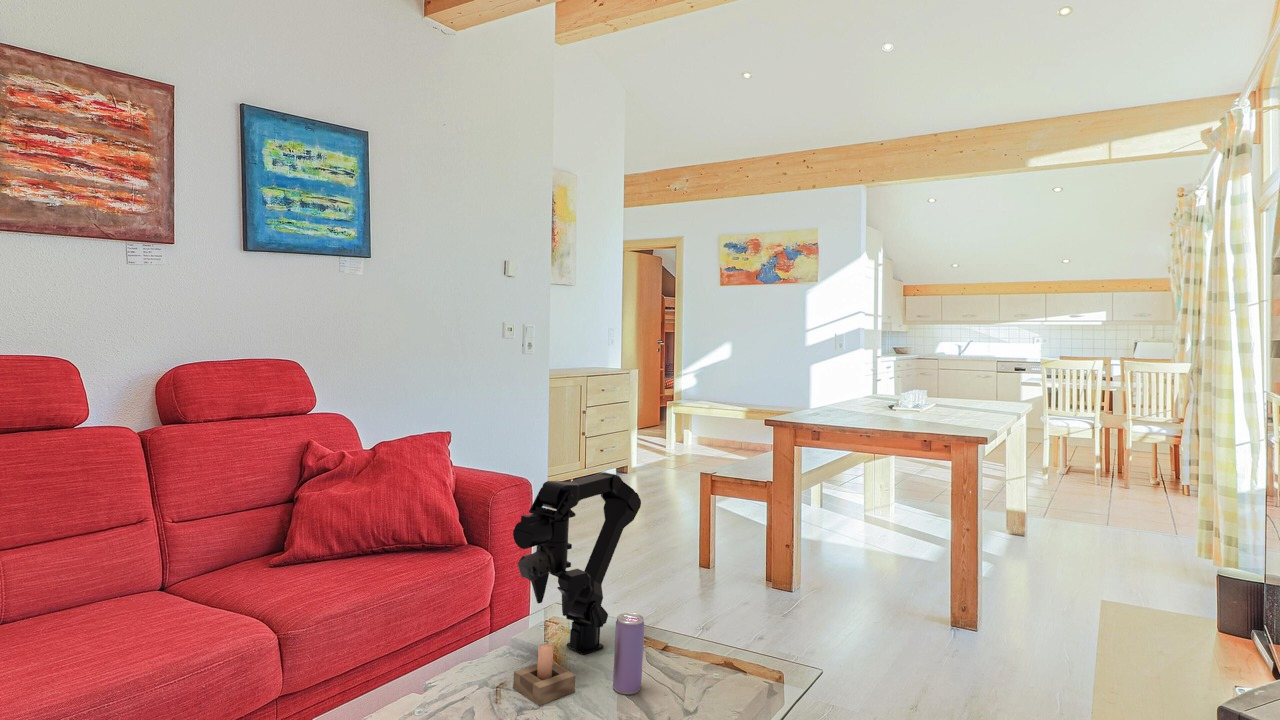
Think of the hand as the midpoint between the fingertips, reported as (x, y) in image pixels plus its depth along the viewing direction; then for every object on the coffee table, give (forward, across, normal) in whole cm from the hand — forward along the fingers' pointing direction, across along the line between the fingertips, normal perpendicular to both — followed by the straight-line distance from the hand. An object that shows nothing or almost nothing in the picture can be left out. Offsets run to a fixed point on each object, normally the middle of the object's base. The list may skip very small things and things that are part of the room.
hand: (552, 609), depth 160 cm
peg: (+12, +9, -8) cm, 17 cm away
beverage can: (+13, +19, +6) cm, 23 cm away
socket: (+12, +9, -8) cm, 17 cm away
